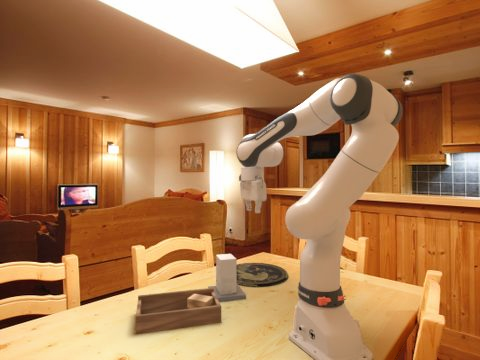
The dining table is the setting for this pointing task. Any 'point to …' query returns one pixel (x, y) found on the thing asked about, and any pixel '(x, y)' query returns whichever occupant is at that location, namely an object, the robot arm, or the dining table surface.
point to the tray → (174, 311)
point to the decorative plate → (260, 275)
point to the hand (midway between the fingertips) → (253, 211)
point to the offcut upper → (199, 301)
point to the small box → (226, 274)
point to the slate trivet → (229, 295)
